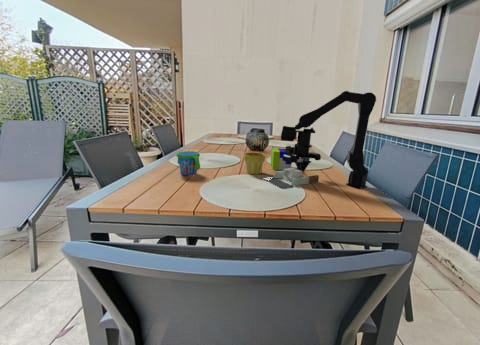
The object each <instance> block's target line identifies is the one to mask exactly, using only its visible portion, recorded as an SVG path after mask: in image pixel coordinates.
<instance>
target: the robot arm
mask: <svg viewBox="0 0 480 345" xmlns="http://www.w3.org/2000/svg"><path fill="white" fill-rule="evenodd" d="M345 102H349V103H352V104H353V103H354V104H357V108H358V109H357V110H358V111H357V112H358V119H357V124H356V129H355V130H356V131H355V135H354V141H353V146H352V149H351V151H347V157H346V162H347V164H348V166H349V168H350V169H351V171H350V172H349V174H348V179H347V180H348V181H347V182H346V184H345V186H350V187H352V188H355V189H359V190H360V189H365V188H368V185H366V184H367V178H368V174H369V170H368V168H367V167H366V165H365V156H364V146H365V142H366V136H367V130H368V125H369V120H370V115H371V113H372V112H373V109H374V108H375V105H376V102H377V97H376V95H375V94H374V93H373V92H365V93H358V92H351V91H349V90H345V91H343V92H341V93H340V94H338V95H337V96H336V97H334V98H333V99H331V100H329V101H328V102H326V103H324V104H323V105H321V106H320V107H318V108H316V109H314V110H312V111H310V112H307V113H305V114H303V115H301V116H300V117H299V119H298V123H297V124H295V125H294V126H287V125H283V126H282V130H281V133H280V141H283V142H294V141H295V140H296V141H297V142H296V143H295V144H294V146H291V145H287V146H285V148H284V149H285V151H286V153H288V154H284V155H283V159H282V160H283V161H286V162H289V163H292V164H293V163H294V164H295V165H296V169H298V170H301V171H302V175H303V174H304V172H305V171H306V169H307V168H308V166H309V165H310V164H312V161H311V160H310V159H314V160H315V161H321V158H322V156H321V154H320V153H317V152H314V151H311V152H310V149H311V148H312V146H313V145H312V144H311V140H312V139H311V136H312V134H316V130H315V129H314V127H311V125H314V123H315V122H316V121H317V120H319V118H321V117H322V116H324V115H325V114H327V113H329V112H330V111H332V110H333V109H335V108H336V107H338V106H340V105H342V104H343V103H345ZM309 127H310V128H309ZM301 129H303V130H301Z"/></svg>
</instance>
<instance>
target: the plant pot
mask: <svg viewBox="0 0 480 345" xmlns="http://www.w3.org/2000/svg"><path fill="white" fill-rule="evenodd" d="M243 156H244V157H243V158H244V162H245V166H246V173H247V174H249V175H259V174H260V173H261V172H262V167H263V164H264V162H265V160H266V159H265V158H266V155H265V153H263V152H256V151H250V152H249V151H248V152H245V153H244V155H243Z"/></svg>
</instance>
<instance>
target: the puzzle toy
mask: <svg viewBox="0 0 480 345" xmlns="http://www.w3.org/2000/svg"><path fill="white" fill-rule="evenodd" d="M285 149H286V148H276V147H275V148H271V155H270V167H271V169H272V170H274V171H275V170H276V171H284V169H289V168H292V164H293V163H289V162H286V161H283V160H282V159H283V155H284V154H288V153H286V151H285Z"/></svg>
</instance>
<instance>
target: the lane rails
mask: <svg viewBox="0 0 480 345" xmlns="http://www.w3.org/2000/svg"><path fill="white" fill-rule="evenodd" d="M283 172H284V170H276V171H275V172H274V178H276V179H280V178H281V179H283ZM319 177H320V176H319V175H318V174H316V175H308V176H302V177H299V178H292V183H290V185H295V186H300V185H307V184H315V183H318V182H319V179H320V178H319Z"/></svg>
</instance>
